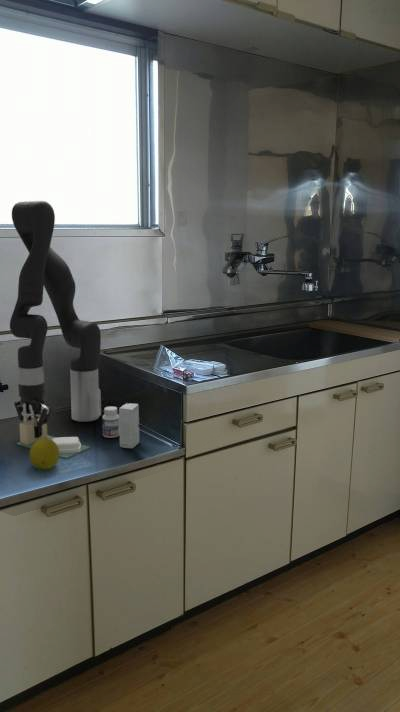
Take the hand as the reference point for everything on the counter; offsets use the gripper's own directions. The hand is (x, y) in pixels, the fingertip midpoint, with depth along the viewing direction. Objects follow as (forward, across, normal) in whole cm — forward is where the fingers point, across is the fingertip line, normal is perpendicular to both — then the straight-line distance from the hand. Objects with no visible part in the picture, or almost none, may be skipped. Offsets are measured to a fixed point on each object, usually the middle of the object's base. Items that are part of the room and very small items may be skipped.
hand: (33, 435), depth 181 cm
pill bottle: (+2, -16, -17) cm, 23 cm away
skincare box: (+2, -26, -14) cm, 29 cm away
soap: (+1, -13, 0) cm, 13 cm away
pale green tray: (+2, -8, 0) cm, 8 cm away
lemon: (+2, -17, +12) cm, 21 cm away
